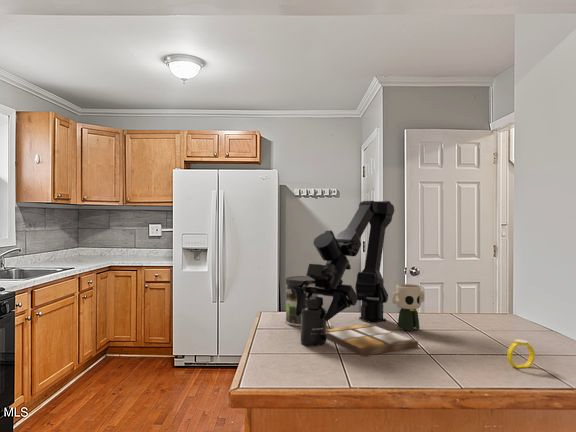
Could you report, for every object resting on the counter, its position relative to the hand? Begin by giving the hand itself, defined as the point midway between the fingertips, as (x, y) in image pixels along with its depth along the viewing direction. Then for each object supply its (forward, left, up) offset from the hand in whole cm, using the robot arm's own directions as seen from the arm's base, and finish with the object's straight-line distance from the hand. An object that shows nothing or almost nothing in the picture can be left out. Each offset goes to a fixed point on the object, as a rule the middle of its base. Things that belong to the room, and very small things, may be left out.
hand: (311, 317), depth 119 cm
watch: (-33, +36, -7) cm, 50 cm away
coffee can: (-9, -23, -7) cm, 25 cm away
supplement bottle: (-1, -1, -7) cm, 7 cm away
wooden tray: (-15, +4, -7) cm, 17 cm away
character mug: (-33, -1, -7) cm, 34 cm away
